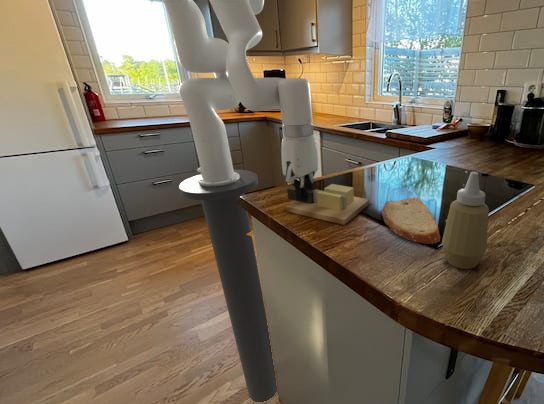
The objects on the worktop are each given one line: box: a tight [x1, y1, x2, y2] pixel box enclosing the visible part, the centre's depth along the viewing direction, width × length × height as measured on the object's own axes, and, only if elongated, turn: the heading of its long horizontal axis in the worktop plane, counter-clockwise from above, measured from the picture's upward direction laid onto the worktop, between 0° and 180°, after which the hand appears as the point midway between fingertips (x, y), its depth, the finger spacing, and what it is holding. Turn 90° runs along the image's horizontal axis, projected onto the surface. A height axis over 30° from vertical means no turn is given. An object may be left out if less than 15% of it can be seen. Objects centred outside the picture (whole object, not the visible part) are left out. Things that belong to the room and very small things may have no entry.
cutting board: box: [285, 189, 370, 226], centre depth 81 cm, size 18×14×2 cm
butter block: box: [323, 183, 355, 205], centre depth 82 cm, size 7×4×4 cm, turn 63°
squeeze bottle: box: [441, 171, 490, 270], centre depth 54 cm, size 8×8×18 cm
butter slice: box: [317, 190, 343, 210], centre depth 78 cm, size 7×2×4 cm, turn 64°
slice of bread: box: [381, 197, 441, 245], centre depth 73 cm, size 18×18×4 cm
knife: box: [286, 185, 346, 209], centre depth 80 cm, size 18×2×4 cm, turn 64°
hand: (305, 197), depth 82 cm, fingers closed on knife, 2 cm apart
